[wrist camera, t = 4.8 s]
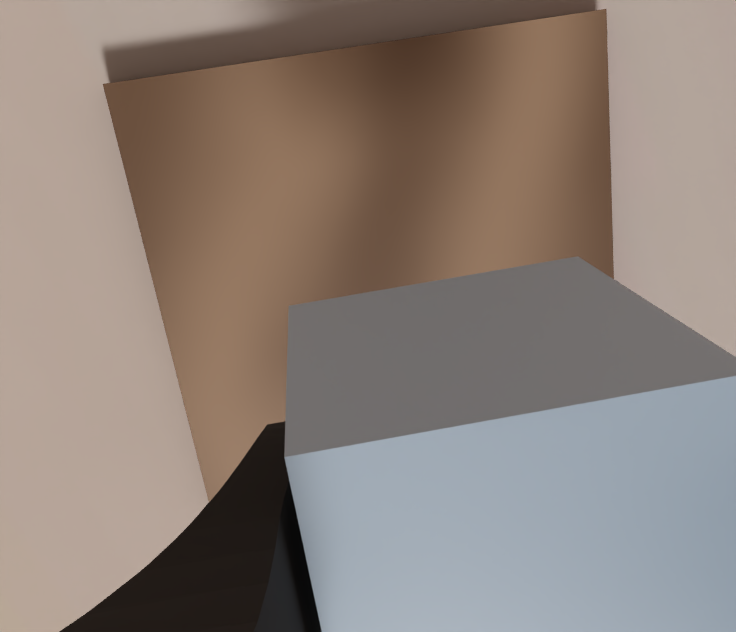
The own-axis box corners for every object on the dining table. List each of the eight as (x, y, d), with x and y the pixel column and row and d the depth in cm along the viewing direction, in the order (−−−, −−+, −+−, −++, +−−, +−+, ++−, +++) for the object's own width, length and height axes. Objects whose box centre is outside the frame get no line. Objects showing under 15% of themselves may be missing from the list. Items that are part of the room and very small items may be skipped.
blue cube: (577, 256, 12) (758, 371, 7) (589, 503, 14) (743, 725, 9) (288, 305, 12) (285, 457, 7) (336, 549, 14) (358, 803, 9)
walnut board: (596, 10, 17) (606, 8, 17) (609, 437, 21) (618, 447, 21) (109, 83, 17) (102, 84, 16) (215, 507, 21) (213, 519, 20)
